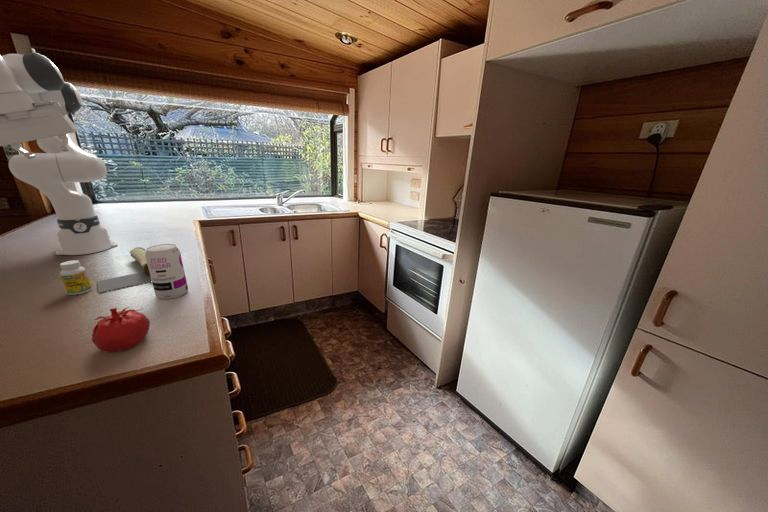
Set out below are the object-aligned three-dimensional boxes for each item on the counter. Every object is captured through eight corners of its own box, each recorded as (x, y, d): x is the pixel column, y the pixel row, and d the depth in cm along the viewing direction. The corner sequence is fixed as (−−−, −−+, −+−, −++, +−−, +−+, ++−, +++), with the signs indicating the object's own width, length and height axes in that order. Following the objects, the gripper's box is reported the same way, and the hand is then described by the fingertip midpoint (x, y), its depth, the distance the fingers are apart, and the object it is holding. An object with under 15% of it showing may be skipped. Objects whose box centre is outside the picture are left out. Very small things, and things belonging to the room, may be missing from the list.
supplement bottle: (94, 286, 93) (84, 258, 90) (90, 293, 89) (80, 263, 86) (70, 290, 90) (59, 261, 87) (65, 297, 86) (53, 267, 83)
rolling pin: (166, 276, 100) (162, 263, 98) (145, 281, 96) (141, 267, 94) (147, 255, 121) (144, 244, 119) (129, 258, 117) (126, 246, 115)
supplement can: (184, 285, 95) (175, 241, 90) (191, 294, 90) (181, 248, 85) (154, 293, 90) (141, 246, 85) (159, 303, 84) (146, 254, 79)
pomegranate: (162, 331, 72) (154, 297, 69) (130, 357, 63) (120, 319, 60) (120, 330, 72) (111, 295, 69) (82, 356, 62) (69, 318, 59)
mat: (97, 282, 96) (96, 281, 96) (163, 268, 108) (163, 267, 108) (99, 293, 89) (98, 292, 89) (170, 277, 101) (170, 276, 101)
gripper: (62, 99, 90) (92, 146, 97) (-22, 112, 85) (16, 160, 92) (51, 99, 85) (84, 148, 92) (-39, 113, 80) (3, 164, 87)
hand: (49, 154), depth 92 cm, fingers open, 8 cm apart
